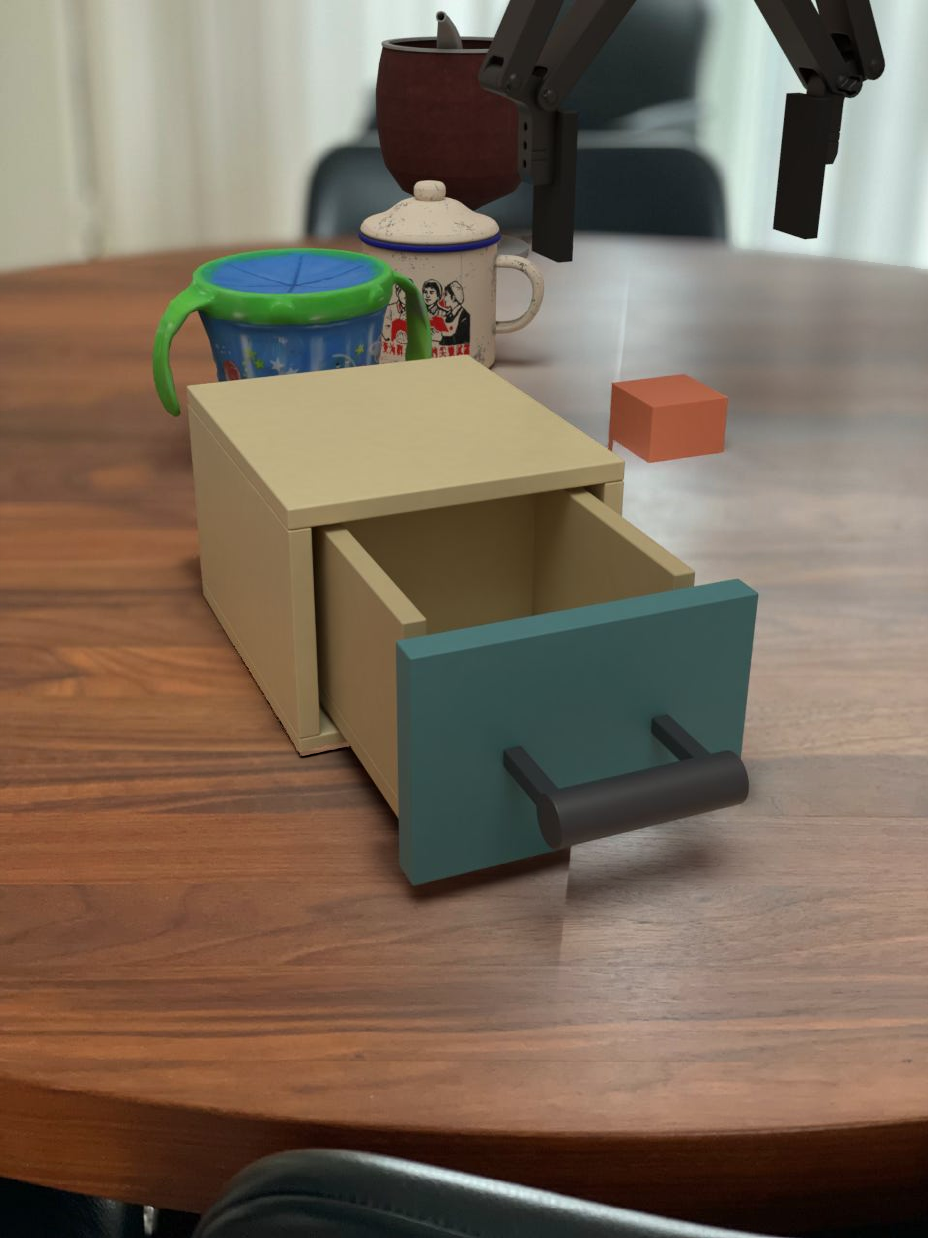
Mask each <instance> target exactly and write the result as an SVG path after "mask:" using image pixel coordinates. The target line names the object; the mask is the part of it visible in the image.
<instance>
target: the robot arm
mask: <svg viewBox="0 0 928 1238" xmlns="http://www.w3.org/2000/svg"><path fill="white" fill-rule="evenodd" d="M753 1H754V3H755V5H756V7H757V9H758V11H759V12H760V14H761V16H762V17H763V19H764V21H765V23H766V24H767V26H768V28H769V29H770V32H771V33H772V34H773V36H774V38H775V40H776V42H777V44H778V45H779V47H780V49H781V50H782V52H783V54H784V56H785V57H786V59H787V61H788V62H789V64H790V66H791V68H792V70H793V71H794V74H796V77H797V78H798V80H799V82H800V83H801V85H802V87H803V88H804V90H805V91H806V93H803V92H786V93H785V104H784V111H783V112H784V114H783V123H782V133H781V143H780V152H779V161H778V162H779V164H778V174H777V183H776V192H775V204H774V213H773V221H772V222H773V223H772V230H775V231H777V232H780V233H783V234H786V235H790V236H793V237H796V238H799V239H801V240H813V239H818V234H819V227H820V218H821V211H822V201H823V193H824V183H825V173H826V166H827V165H834V163H835V161H836V159H837V157H838V154H839V147H840V138H841V130H842V129H841V128H842V122H843V121H842V120H843V113H844V112H843V111H844V103H845V99H846V98H847V99H853V98H856V97H857V96H858V95H859V94H860V93H861V91H862V89H863V86H864V82H866V81H875V80H878V79H879V78H880V77H882V75H884V72H885V68H886V59H885V57H884V52H883V47H882V44H881V41H880V35H879V31H878V29H877V24H876V21H875V16H874V13H873V9H872V4H871V1H870V0H814V2H815V4H814V2H813V1H812V0H753ZM564 2H565V0H509V1H508V4H507V6H506V9H505V11H504V13H503V15H502V18H501V20H500V22H499V25H498V27H497V30H496V31H495V34H494V36H493V37H494V38H493V41H492V43H491V45H490V48H489V50H488V52H487V55H486V57H485V59H484V61H483V64H482V66H481V68H480V71H479V75H478V79H479V83H480V85H481V87H482V88H483V89H484V90H487V91H491V92H493V93H496V94H498V95H501V96H503V97H506V98H509V99H510V100H512V101H513V102H514V103H515V104H516V106H517V108H518V111H519V134H518V146H519V148H518V172H519V175H520V178H521V181H522V182H523V183H526V184H529V185H531V186H532V192H533V193H532V220H531V221H532V223H531V224H532V225H531V228H532V230H531V252H533V253H535V254H538V255H540V256H542V257H543V258H546V259H548V260H551V261H553V262H555V263H557V264H558V263H559V264H561V263H570V262H571V263H572V262H573V261H574V260H573V258H574V257H573V256H574V236H575V234H574V233H575V231H574V230H575V213H576V212H575V209H576V208H575V206H576V185H577V184H576V183H577V182H576V181H577V161H578V158H577V157H578V137H579V136H578V135H579V111H575V110H572V109H568V108H564V107H562V106H561V105H562V104H563V102H564V101H565V100H566V98H567V97H568V96H569V94H570V93H571V91H572V90H573V88H574V87H575V86H576V84H578V82H579V80H580V79H581V77H583V74H585V72H586V71H587V70H588V68H589V67H590V65H591V64H592V62H593V61H594V60H595V58H596V57H597V56H598V54H599V53H600V51H602V49H603V47H604V46H605V45H606V43H607V42H608V40H609V39H610V37H611V36H612V35H613V33H614V32H615V31H616V29H617V28H618V26H619V25H620V24H621V23H622V21H623V20H624V18H625V17H626V15H627V14H628V13H629V12H630V10H631V9H632V7H633V6H634V5H635V4H636V2H637V0H575V1H574V3H573V4H572V6H570V8H569V10H568V11H567V12H566V13H565V15H564V16H563V18H562V19H561V20H560V22H559V24H558V25H557V26H556V28H555V29H554V30H553V32H552V29H553V27H554V25H555V23H556V20H557V18H558V15H559V13H560V11H561V9H562V6H563V4H564ZM815 5H816V6H815ZM551 32H552V33H551ZM550 33H551V34H550ZM560 106H561V107H560Z"/></svg>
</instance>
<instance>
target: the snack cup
mask: <svg viewBox="0 0 928 1238" xmlns="http://www.w3.org/2000/svg"><path fill="white" fill-rule="evenodd" d="M191 279H192V280H191V283H190V284H189V286H188V287H187V288H186V289H184V290H183V291H181V292H179V294H177V296H175V297H174V298H173V299H171V300H170V302H169V304H168V306H167V308H166V309H165V311H164V312H163V315H162V316H161V318H160V320H159V322H158V326H157V330H156V333H155V337H154V341H153V348H152V376H153V381H154V386H155V389H156V392H157V395H158V398H159V400H160V403H161V404H162V406H163V408H164V409H165V411H166V413H169V414H170V415H172V416H173V417H174V418H175V417H176V418H177V417H179V416H180V415H181V414H182V411H181V406H180V402H179V401H178V398H177V393H176V388H175V387H176V386H175V380H174V375H173V371H172V368H171V365H170V349H171V345H172V341H173V339H174V337H175V336H176V334H178V332H179V331H180V329H181V327H182V326H183V325H184V323H185V322H186V320H187V319H188V317H190V314H193V313H195V312H197V313H198V316H199V319H200V321H201V323H202V327H203V328H204V331H205V333H206V336H207V338H208V341H209V345H210V350H211V355H212V358H213V359H212V360H213V362H214V364H215V367H216V378H217V382H225V381H234V380H243V379H252V378H261V377H270V376H279V375H288V374H297V373H306V372H315V371H324V370H333V369H342V368H351V367H360V366H369V365H378V364H379V357H380V353H381V346H382V340H381V338H382V331H383V323H384V317H385V313H386V310H387V306H388V304H389V302H390V300H391V297H392V293H393V285H394V284H395V283H396V284H397V285H398V286H399V287H400V288H401V289H402V290H403V291H404V292H405V304H406V324H407V340H408V342H407V346H406V352H405V361H414V360H423V359H431V356H432V334H431V326H430V321H429V315H428V311H427V308H426V305H425V302H424V299H423V296H422V295H421V293H420V291H419V290H418V288H417V287H416V285H415V284H414V283H413V282H412V281H411V280H409V279H408V278H407V277H405V276H403V275H401V274H400V273H397V272H395V271H393V270H392V269H391V267H390V266H389V265H388V264H387V263H386V262H384V261H383V260H381V259H378V258H376V257H373V256H370V255H367V254H363V252H356V251H350V250H343V249H335V248H334V249H333V248H316V247H314V248H313V247H311V248H310V247H293V248H292V247H289V248H288V247H287V248H272V249H271V248H270V249H262V250H253V251H247V252H239V253H234V254H231V255H230V254H229V255H226V256H222V257H219V258H216V259H215V258H214V259H212V260H210V261H207V262H205V263H203V264H202V265H201V264H200V266H199V267H197V268H196V269H195V270H194V271H193V273H192V278H191Z"/></svg>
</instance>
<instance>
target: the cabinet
mask: <svg viewBox="0 0 928 1238" xmlns="http://www.w3.org/2000/svg"><path fill="white" fill-rule="evenodd" d="M186 399H187V403H188V404H187V413H188V424H189V425H188V426H189V427H188V428H189V440H190V447H191V448H190V449H191V452H190V453H191V461H192V462H191V463H192V474H193V487H194V496H195V497H194V499H195V500H194V501H195V511H196V512H195V513H196V524H197V538H198V550H199V563H200V572H201V574H200V575H201V580H202V581H201V583H202V585H201V586H202V596H203V597H204V598H205V600H206V602H207V604H208V605H209V607H210V608H211V610H212V612H213V613H214V615H215V617H216V618H217V621H218V622H219V623H220V625H221V627H222V628H223V630H224V632H225V633H226V635H227V637H228V638H229V640H230V642H231V643H232V645H233V647H234V646H235V647H234V648H235V650H236V649H237V650H236V652H237V651H238V652H237V654H238V653H239V654H240V655H239V654H238V655H239V657H240V656H241V657H242V659H243V660H242V659H241V660H242V661H244V662H245V664H246V665H245V664H244V665H245V667H246V666H247V667H248V668H249V670H248V672H249V671H250V672H251V673H252V675H253V677H254V678H255V679H256V682H257V683H258V685H259V686H260V688H261V690H262V691H263V693H264V694H265V696H266V699H267V700H268V701H269V703H270V704H271V706H272V708H273V709H274V710H275V712H276V714H277V716H278V717H279V719H280V720H281V722H282V724H283V725H284V727H285V728H286V730H287V732H288V734H289V736H290V737H291V739H292V741H293V742H294V744H295V745H296V747H297V749H298V750H299V752H303V751H309V750H310V749H314V748H321V747H323V746H325V745H333V744H337V743H343V742H347V740H346V739H345V737H344V736H343V734H342V733H341V731H340V730H339V728H338V727H337V725H336V724H335V722H334V721H333V719H332V718H331V716H330V715H329V713H328V712H327V710H326V709H325V707H324V706H323V704H322V703H321V701H320V700H319V693H318V670H317V647H316V624H315V601H314V578H313V555H312V532H311V528H310V527H315V526H321V525H328V524H335V523H341V522H348V521H355V520H361V519H368V518H375V517H381V516H388V515H395V514H401V513H408V512H415V511H421V510H428V509H434V508H441V507H448V506H454V505H461V504H468V503H474V502H481V501H488V500H494V499H501V498H508V497H514V496H521V495H528V494H534V493H541V492H548V491H554V490H561V489H568V488H574V487H582V488H584V489H585V490H587V491H588V492H589V493H591V494H592V495H593V496H595V497H596V498H597V499H599V500H600V501H601V502H603V503H604V504H605V505H607V506H608V507H609V508H611V509H612V510H613V511H615V512H616V513H618V514H619V515H620V516H622V517H623V509H624V508H623V507H624V506H623V505H624V491H625V490H624V487H625V481H624V479H625V466H626V461H625V459H623V458H622V457H621V456H619V455H617V454H616V453H614V451H612V452H611V451H610V450H609V449H608V447H606V446H604V445H602V444H601V443H600V442H598V441H597V440H595V439H594V438H592V437H591V436H589V435H588V434H586V433H585V432H583V431H582V430H580V429H578V427H576V426H574V425H573V424H571V423H570V422H569V421H567V420H565V419H564V418H562V417H561V416H560V415H558V414H557V413H555V412H554V411H552V410H551V409H549V408H548V407H546V406H545V405H543V404H542V403H540V402H539V401H538V400H535V398H533V397H531V396H530V395H528V394H527V393H525V392H524V391H522V390H521V389H519V388H518V387H517V386H515V385H513V384H512V383H510V382H509V381H507V380H506V379H505V378H503V377H502V376H500V375H499V374H498V373H495V372H494V371H493V370H492V369H490V368H487V367H485V366H484V365H482V364H481V363H479V362H478V361H476V360H475V359H473V358H472V357H470V356H469V355H459V356H450V357H441V358H432V359H423V360H414V361H405V362H396V363H387V364H378V365H369V366H360V367H351V368H342V369H333V370H324V371H315V372H306V373H297V374H288V375H279V376H270V377H261V378H252V379H243V380H234V381H225V382H219V381H215V382H208V383H199V384H189V385H187V386H186ZM241 657H240V658H241ZM244 662H243V663H244ZM247 667H246V668H247ZM250 672H249V673H250ZM252 675H251V676H252ZM253 677H252V678H253ZM256 682H255V683H256ZM258 685H257V686H258ZM261 690H260V691H261ZM266 699H265V700H266ZM267 700H266V701H267Z"/></svg>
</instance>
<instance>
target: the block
mask: <svg viewBox="0 0 928 1238" xmlns="http://www.w3.org/2000/svg"><path fill="white" fill-rule="evenodd" d="M610 391H611V392H610V406H609V424H608V426H609V427H608V442H607V443H608V444H607V449H609V450H610V451H611V452H613V448H614V441H615V443H618V444H619V445H620V446H622V447H623V448H625V449H627V450H628V451H630V452H631V453H632V454H634V455H636V456H637V457H638V458H640V459H642V460H643V461H645V462H647V463H648V464H653V463H659V462H667V461H675V460H680V459H681V460H682V459H687V458H693V457H694V458H695V457H700V456H707V455H715V454H721V453H724V449H725V436H726V425H727V415H728V405H729V397H728V396H727V395H724V394H723V393H721V392H719V391H717V390H715V389H714V388H712V387H709V386H707V385H706V384H704V383H702V382H701V381H698V380H697V379H695V378H693V377H691V376H689V375H687V374H685V373H681V374H680V373H679V374H671V375H664V376H657V377H648V378H640V379H631V380H624V381H615V382H611V388H610Z"/></svg>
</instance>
